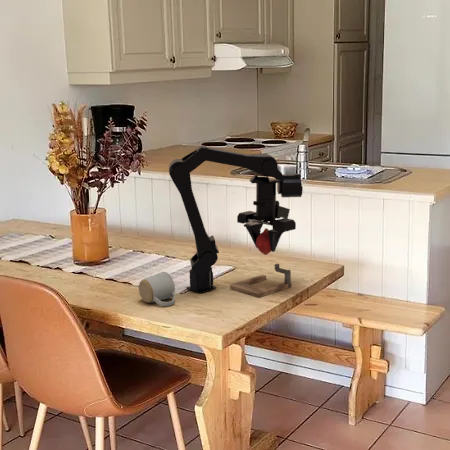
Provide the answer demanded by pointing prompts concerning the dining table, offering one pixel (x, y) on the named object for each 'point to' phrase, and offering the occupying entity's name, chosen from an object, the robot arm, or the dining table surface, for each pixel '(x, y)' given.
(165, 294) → the ceramic mug
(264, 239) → the onion
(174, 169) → the robot arm
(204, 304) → the dining table surface
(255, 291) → the walnut board
